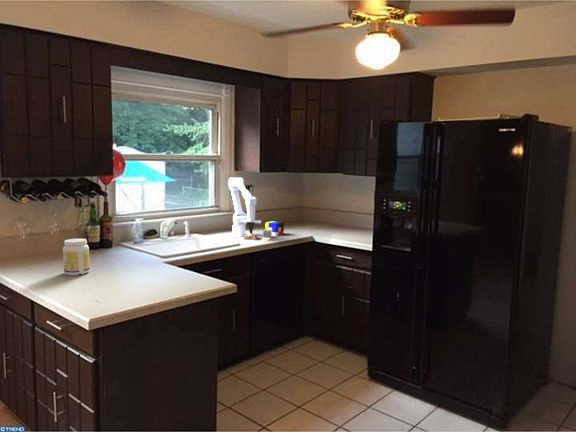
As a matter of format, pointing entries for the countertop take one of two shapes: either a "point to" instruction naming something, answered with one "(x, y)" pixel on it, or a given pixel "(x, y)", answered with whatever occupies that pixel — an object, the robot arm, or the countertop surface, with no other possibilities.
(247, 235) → the collar
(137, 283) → the countertop surface
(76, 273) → the supplement tub
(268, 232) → the block
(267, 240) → the board
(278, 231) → the puzzle toy
